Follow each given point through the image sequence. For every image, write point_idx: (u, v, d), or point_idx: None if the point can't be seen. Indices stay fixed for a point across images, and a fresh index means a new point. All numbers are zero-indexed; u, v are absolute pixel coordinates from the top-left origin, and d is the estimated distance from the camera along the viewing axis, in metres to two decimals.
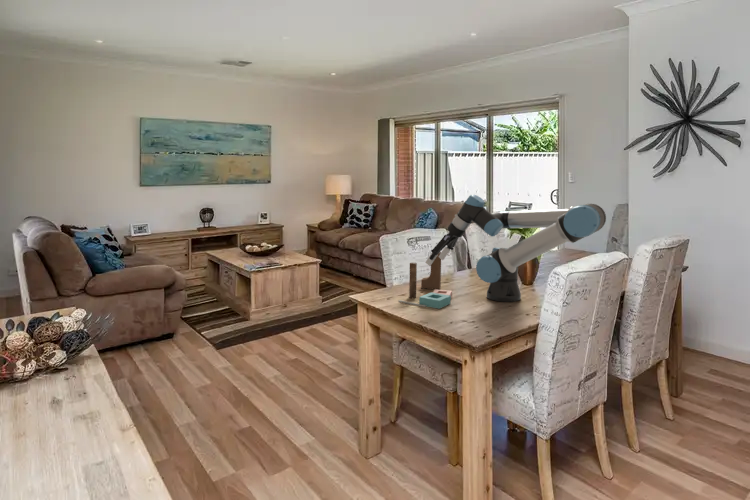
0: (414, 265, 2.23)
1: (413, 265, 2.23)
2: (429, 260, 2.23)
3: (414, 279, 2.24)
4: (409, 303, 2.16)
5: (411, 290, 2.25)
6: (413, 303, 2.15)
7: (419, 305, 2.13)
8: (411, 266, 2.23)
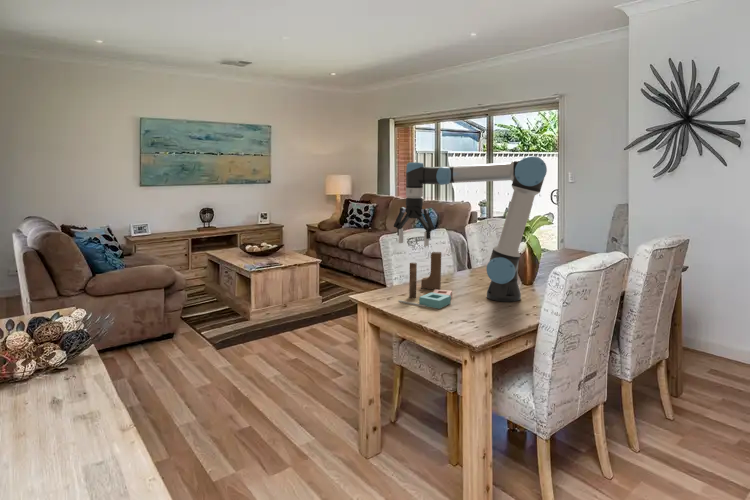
0: (414, 265, 2.23)
1: (413, 265, 2.23)
2: (426, 241, 2.18)
3: (414, 279, 2.24)
4: (409, 303, 2.16)
5: (411, 290, 2.25)
6: (413, 303, 2.15)
7: (419, 305, 2.13)
8: (411, 266, 2.23)
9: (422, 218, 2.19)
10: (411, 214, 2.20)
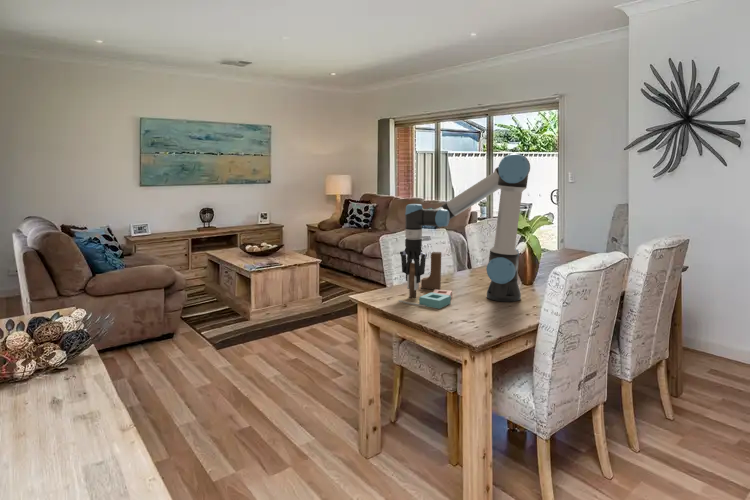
0: (414, 265, 2.23)
1: (413, 265, 2.23)
2: (416, 285, 2.25)
3: None
4: (409, 303, 2.16)
5: (411, 290, 2.25)
6: (413, 303, 2.15)
7: (419, 305, 2.13)
8: (411, 266, 2.23)
9: (418, 261, 2.23)
10: (410, 255, 2.23)
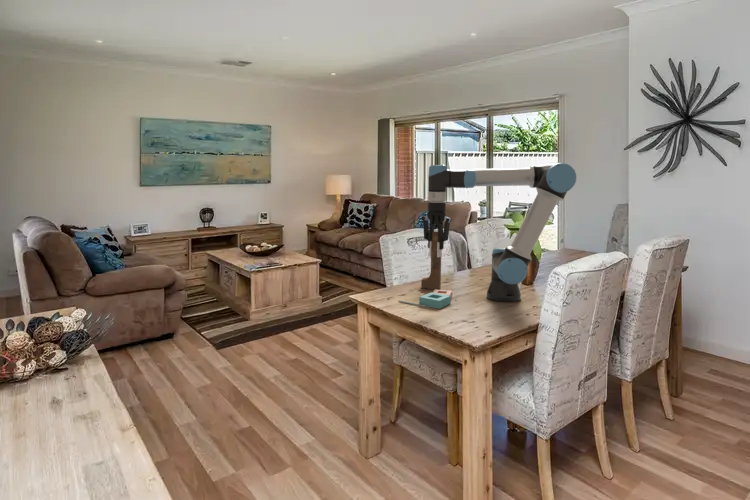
0: (437, 233, 2.09)
1: (436, 233, 2.09)
2: (439, 252, 2.10)
3: None
4: (409, 303, 2.16)
5: (434, 260, 2.11)
6: (413, 303, 2.15)
7: (419, 305, 2.13)
8: (434, 234, 2.09)
9: (441, 226, 2.09)
10: (433, 219, 2.09)
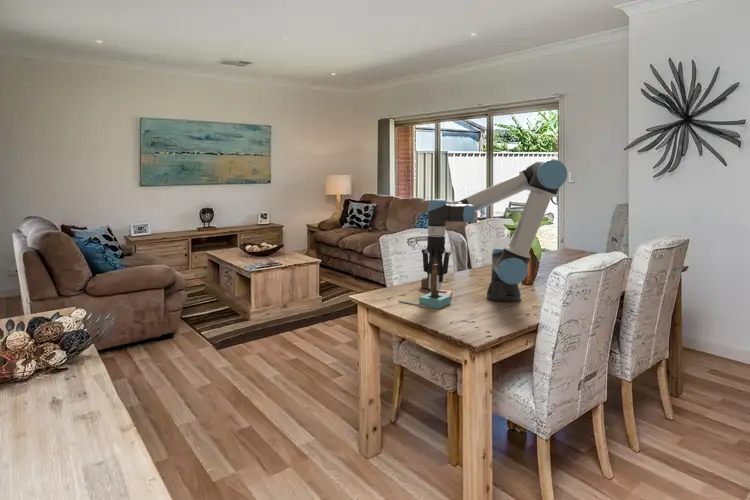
0: (436, 267, 2.12)
1: (435, 267, 2.11)
2: (439, 284, 2.13)
3: (436, 281, 2.13)
4: (409, 303, 2.16)
5: (433, 293, 2.14)
6: (413, 303, 2.15)
7: (419, 305, 2.13)
8: (433, 268, 2.12)
9: (441, 259, 2.11)
10: (433, 253, 2.11)
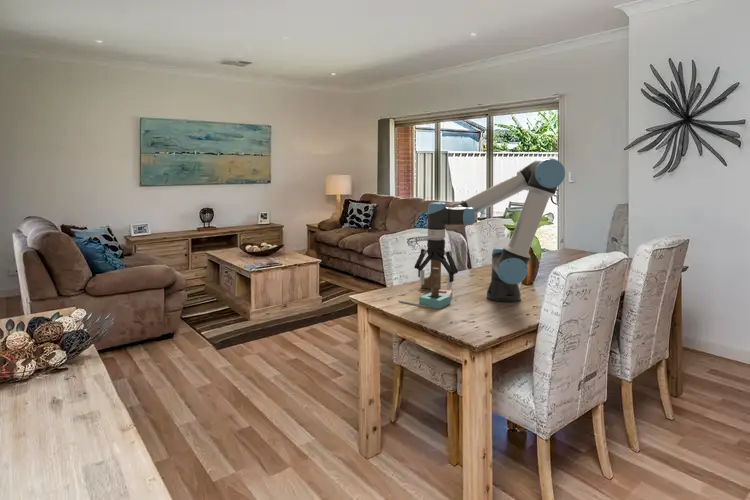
0: (437, 270, 2.12)
1: (435, 270, 2.12)
2: (449, 284, 2.10)
3: (436, 285, 2.13)
4: (409, 303, 2.16)
5: (433, 297, 2.14)
6: (413, 303, 2.15)
7: (419, 305, 2.13)
8: (433, 271, 2.12)
9: (445, 260, 2.10)
10: (433, 256, 2.12)
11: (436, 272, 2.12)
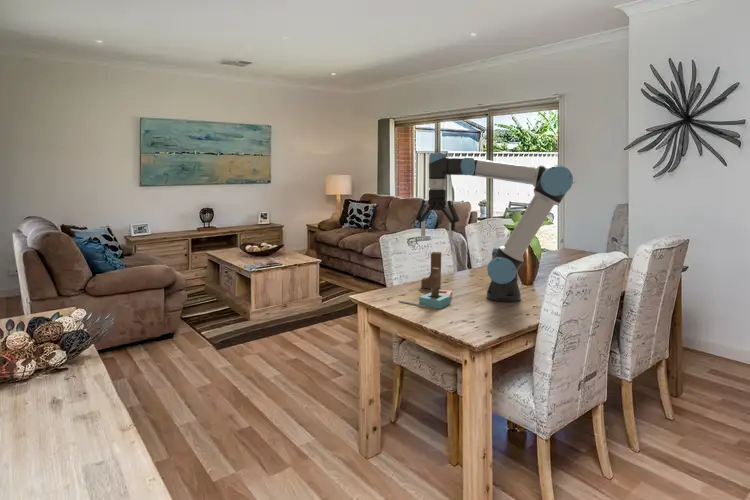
0: (437, 270, 2.12)
1: (436, 270, 2.12)
2: (451, 233, 2.14)
3: (436, 285, 2.13)
4: (409, 303, 2.16)
5: (433, 297, 2.14)
6: (413, 303, 2.15)
7: (419, 305, 2.13)
8: (433, 271, 2.12)
9: (446, 210, 2.14)
10: (434, 206, 2.15)
11: (436, 272, 2.12)
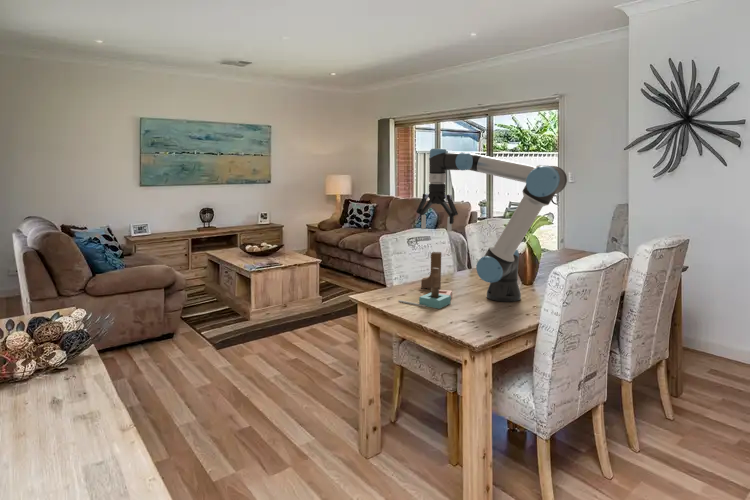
0: (437, 270, 2.12)
1: (435, 270, 2.12)
2: (450, 226, 2.22)
3: (436, 285, 2.13)
4: (409, 303, 2.16)
5: (433, 297, 2.14)
6: (413, 303, 2.15)
7: (419, 305, 2.13)
8: (433, 271, 2.12)
9: (445, 203, 2.22)
10: (434, 200, 2.24)
11: (436, 272, 2.12)
